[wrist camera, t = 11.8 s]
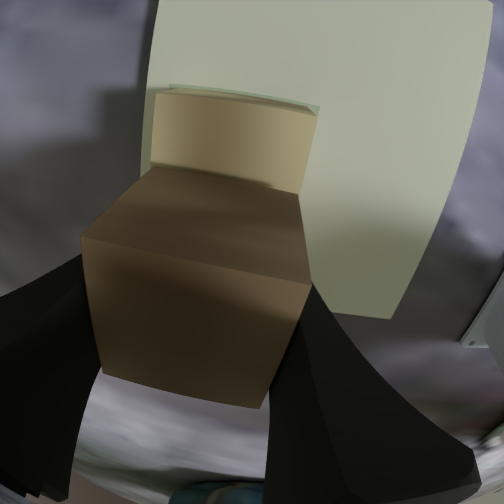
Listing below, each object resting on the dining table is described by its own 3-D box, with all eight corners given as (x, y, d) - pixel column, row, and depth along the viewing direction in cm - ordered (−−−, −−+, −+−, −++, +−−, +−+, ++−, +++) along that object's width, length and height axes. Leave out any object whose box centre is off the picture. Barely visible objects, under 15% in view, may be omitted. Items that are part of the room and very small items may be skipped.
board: (486, 4, 8) (494, 3, 8) (387, 312, 18) (390, 319, 17) (183, -77, 8) (179, -83, 7) (144, 273, 17) (140, 280, 16)
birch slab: (307, 106, 12) (317, 116, 9) (265, 289, 16) (263, 332, 14) (181, 87, 11) (155, 93, 9) (168, 272, 16) (150, 311, 14)
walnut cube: (298, 194, 10) (312, 285, 6) (265, 305, 12) (259, 409, 8) (154, 165, 9) (80, 236, 6) (148, 280, 12) (103, 373, 8)
